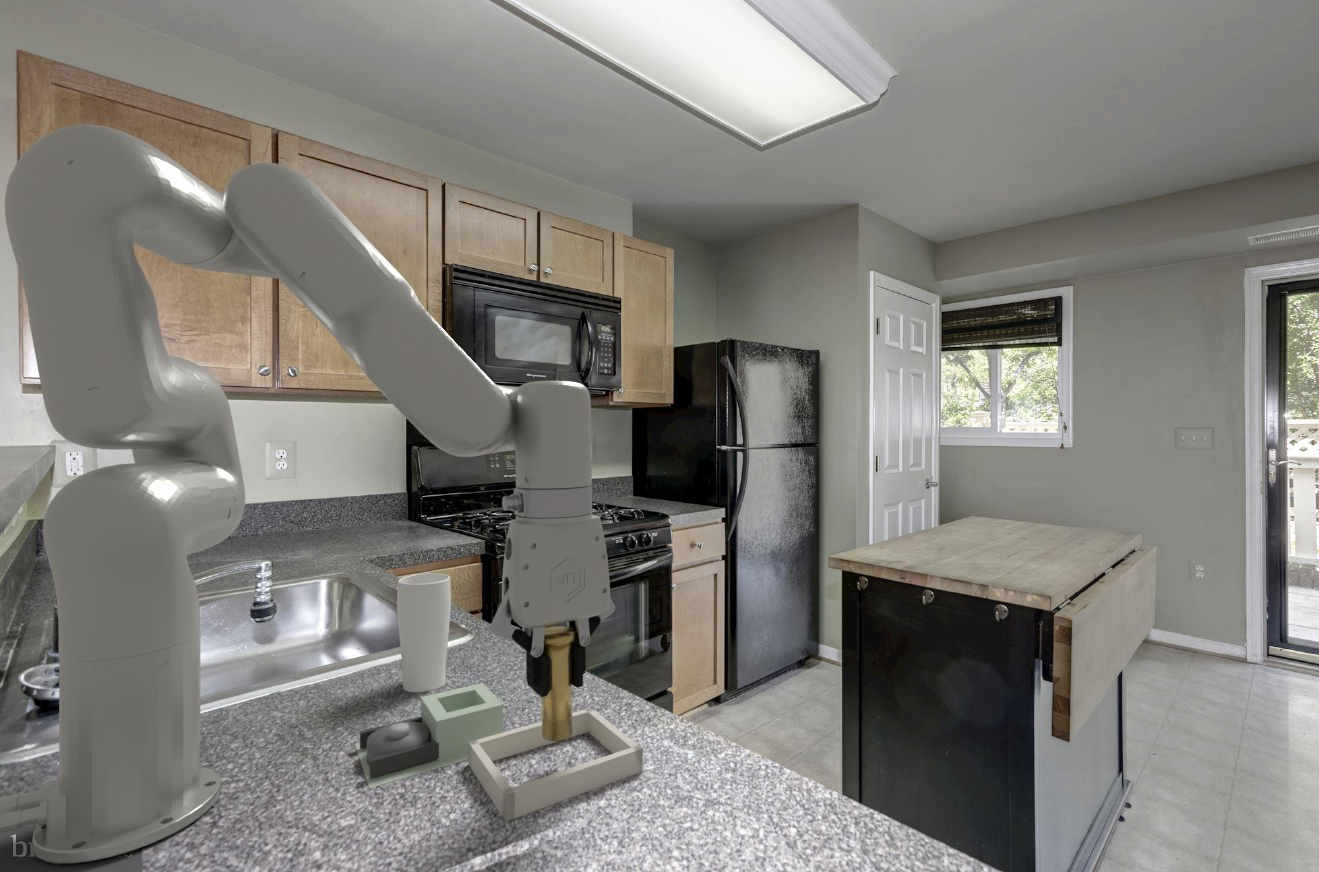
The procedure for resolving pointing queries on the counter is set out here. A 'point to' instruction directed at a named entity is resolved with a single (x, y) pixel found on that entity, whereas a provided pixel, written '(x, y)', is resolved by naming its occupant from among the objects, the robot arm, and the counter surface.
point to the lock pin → (558, 684)
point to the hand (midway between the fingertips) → (556, 685)
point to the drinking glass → (424, 629)
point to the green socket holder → (430, 735)
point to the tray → (558, 784)
